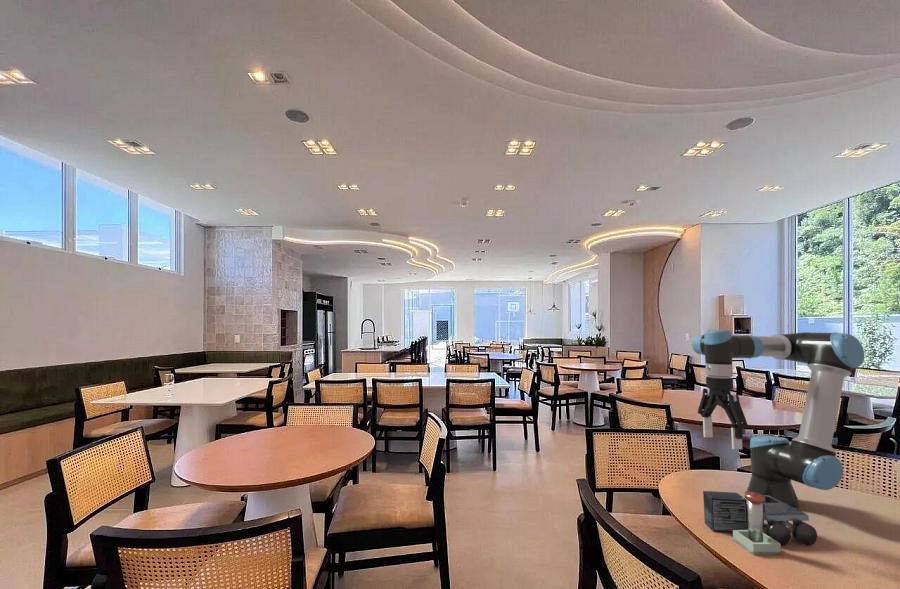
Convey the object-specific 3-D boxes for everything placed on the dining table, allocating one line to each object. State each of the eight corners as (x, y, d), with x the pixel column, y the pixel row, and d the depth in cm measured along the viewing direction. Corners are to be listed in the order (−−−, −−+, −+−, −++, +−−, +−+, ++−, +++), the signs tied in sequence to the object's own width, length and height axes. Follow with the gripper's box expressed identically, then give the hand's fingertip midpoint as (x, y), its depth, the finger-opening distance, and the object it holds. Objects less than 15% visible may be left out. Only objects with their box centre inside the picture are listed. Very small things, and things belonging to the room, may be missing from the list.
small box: (738, 524, 134) (737, 491, 135) (749, 534, 128) (748, 500, 129) (703, 522, 136) (702, 489, 137) (712, 532, 130) (711, 497, 130)
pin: (758, 539, 123) (757, 491, 123) (770, 549, 118) (769, 499, 119) (741, 539, 123) (741, 491, 124) (752, 548, 119) (751, 498, 119)
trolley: (783, 525, 134) (781, 491, 135) (817, 545, 122) (815, 507, 123) (741, 526, 133) (740, 491, 134) (771, 546, 121) (769, 508, 122)
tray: (759, 540, 125) (758, 529, 125) (781, 554, 117) (780, 543, 117) (733, 540, 125) (732, 530, 125) (753, 555, 117) (753, 544, 117)
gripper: (685, 372, 148) (687, 432, 146) (735, 381, 123) (738, 454, 122) (705, 372, 148) (708, 432, 147) (759, 381, 123) (763, 454, 122)
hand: (722, 442), depth 134 cm, fingers open, 13 cm apart
